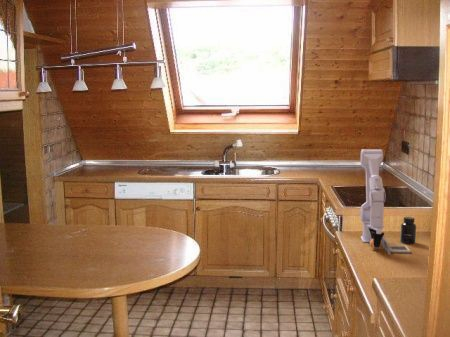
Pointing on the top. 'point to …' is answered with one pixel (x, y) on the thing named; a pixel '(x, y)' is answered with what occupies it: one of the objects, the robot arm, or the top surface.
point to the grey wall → (386, 245)
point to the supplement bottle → (408, 231)
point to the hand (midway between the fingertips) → (375, 245)
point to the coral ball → (373, 244)
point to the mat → (400, 249)
